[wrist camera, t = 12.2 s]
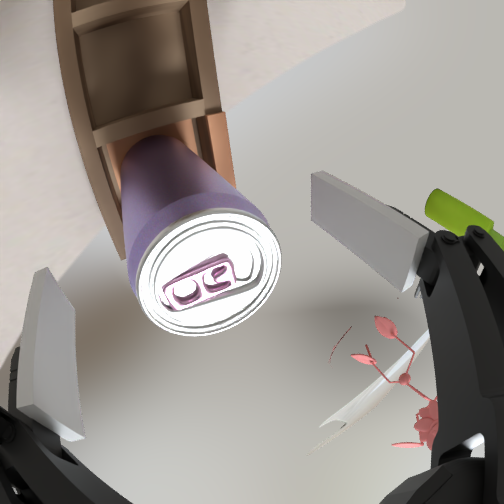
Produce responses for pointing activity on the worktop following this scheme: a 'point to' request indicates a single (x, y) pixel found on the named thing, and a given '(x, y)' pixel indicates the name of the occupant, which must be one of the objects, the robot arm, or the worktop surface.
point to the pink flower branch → (429, 413)
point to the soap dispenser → (458, 215)
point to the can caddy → (138, 87)
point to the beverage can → (192, 241)
